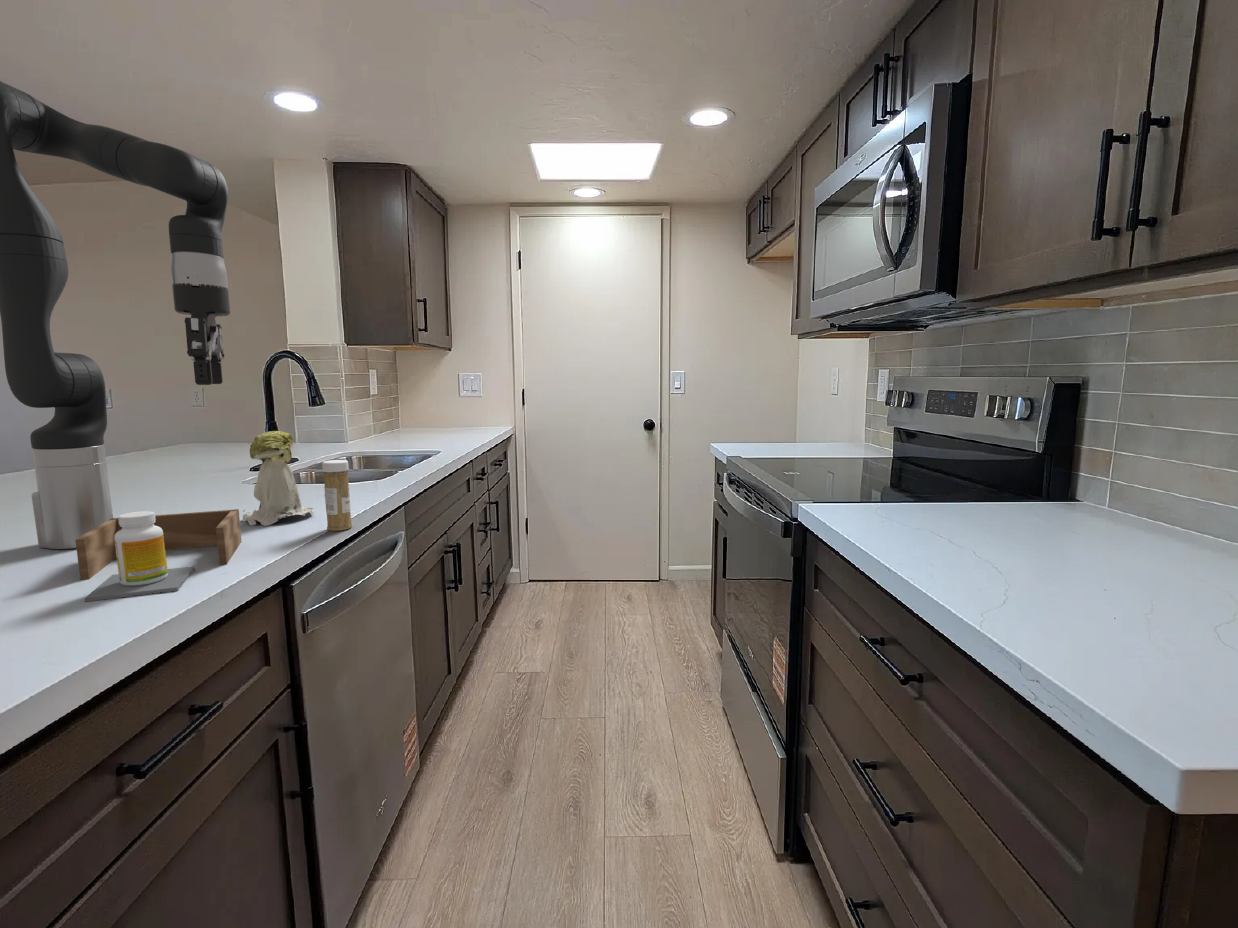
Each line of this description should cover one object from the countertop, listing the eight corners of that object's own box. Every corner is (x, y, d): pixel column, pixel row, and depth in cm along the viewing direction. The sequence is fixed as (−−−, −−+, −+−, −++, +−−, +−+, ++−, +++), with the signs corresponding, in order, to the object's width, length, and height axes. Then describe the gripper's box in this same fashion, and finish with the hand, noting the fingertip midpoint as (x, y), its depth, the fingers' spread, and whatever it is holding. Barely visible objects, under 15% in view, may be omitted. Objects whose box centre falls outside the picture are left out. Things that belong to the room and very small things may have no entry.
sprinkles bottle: (355, 528, 115) (351, 461, 113) (331, 532, 112) (326, 463, 110) (347, 524, 118) (343, 458, 116) (323, 528, 115) (318, 460, 113)
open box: (115, 553, 98) (110, 518, 97) (241, 541, 105) (238, 509, 104) (80, 579, 85) (75, 539, 84) (226, 564, 93) (223, 527, 92)
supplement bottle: (177, 576, 86) (170, 511, 84) (137, 588, 80) (129, 519, 79) (151, 572, 87) (143, 508, 86) (110, 584, 82) (101, 516, 81)
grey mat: (112, 577, 86) (112, 574, 86) (194, 569, 90) (194, 566, 90) (85, 601, 77) (84, 597, 77) (177, 590, 81) (177, 587, 81)
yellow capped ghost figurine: (327, 515, 126) (321, 430, 123) (267, 528, 115) (260, 435, 112) (291, 509, 131) (285, 427, 129) (231, 521, 120) (223, 432, 117)
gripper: (183, 289, 101) (193, 384, 103) (159, 276, 88) (170, 385, 91) (235, 292, 104) (243, 384, 106) (219, 280, 91) (228, 385, 94)
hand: (209, 384), depth 98 cm, fingers open, 8 cm apart
